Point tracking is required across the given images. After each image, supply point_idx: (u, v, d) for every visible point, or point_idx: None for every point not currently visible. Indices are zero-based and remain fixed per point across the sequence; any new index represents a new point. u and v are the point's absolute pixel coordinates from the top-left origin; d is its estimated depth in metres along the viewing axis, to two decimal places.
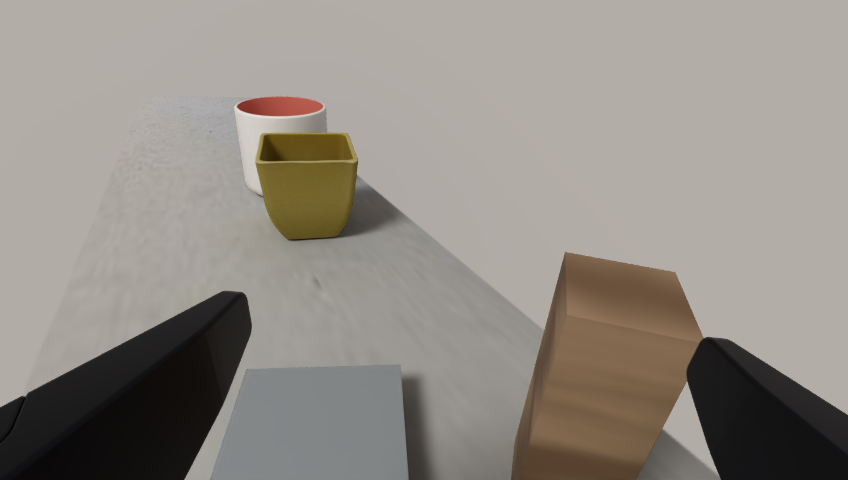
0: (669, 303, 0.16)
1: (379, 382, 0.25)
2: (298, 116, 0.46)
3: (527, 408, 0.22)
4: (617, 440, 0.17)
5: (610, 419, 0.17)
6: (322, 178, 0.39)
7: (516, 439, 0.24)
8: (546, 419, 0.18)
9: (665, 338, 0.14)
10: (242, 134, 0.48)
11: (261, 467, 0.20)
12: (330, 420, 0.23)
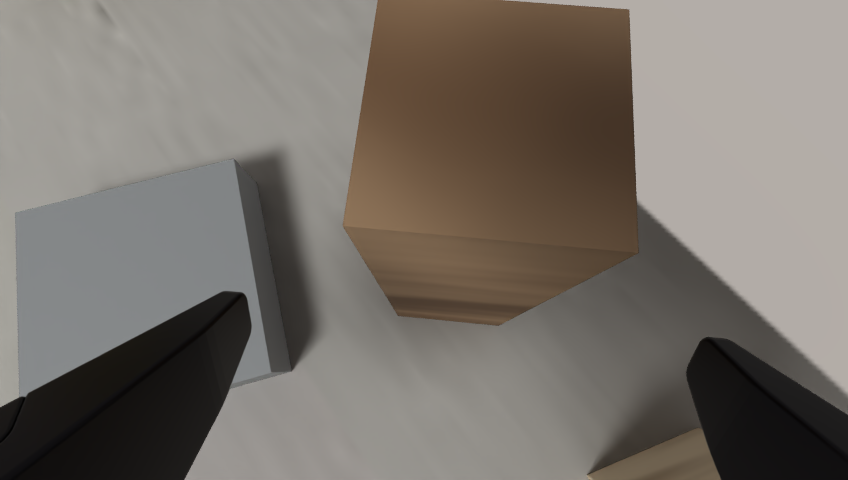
0: (589, 129, 0.07)
1: (207, 194, 0.18)
2: None
3: None
4: (495, 298, 0.12)
5: (481, 289, 0.11)
6: None
7: None
8: (393, 287, 0.12)
9: (555, 247, 0.07)
10: None
11: (78, 347, 0.16)
12: (150, 265, 0.17)
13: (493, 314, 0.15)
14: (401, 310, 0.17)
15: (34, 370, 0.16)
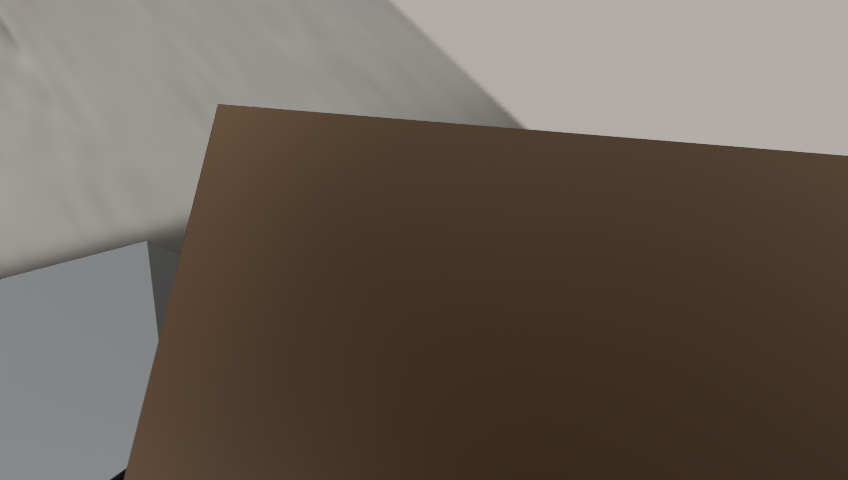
0: None
1: (108, 292, 0.13)
2: None
3: None
4: None
5: None
6: None
7: None
8: None
9: None
10: None
11: None
12: (22, 400, 0.12)
13: None
14: None
15: None
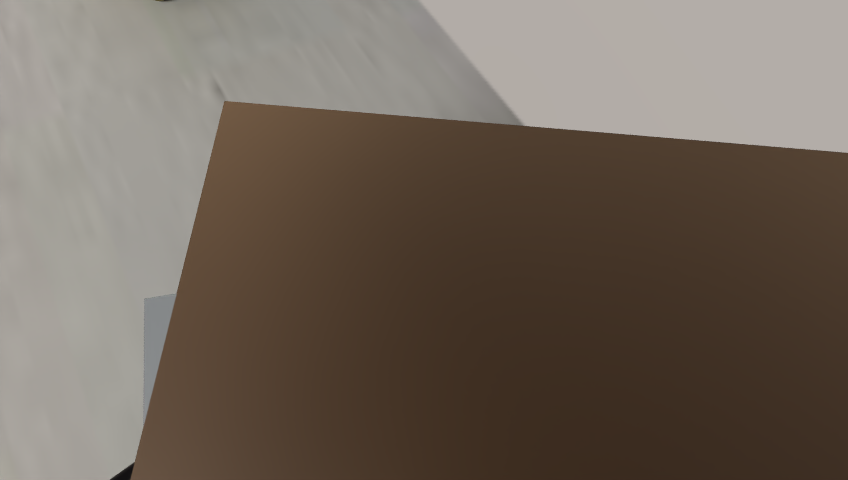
0: None
1: None
2: None
3: None
4: None
5: None
6: None
7: None
8: None
9: None
10: None
11: None
12: None
13: None
14: None
15: None
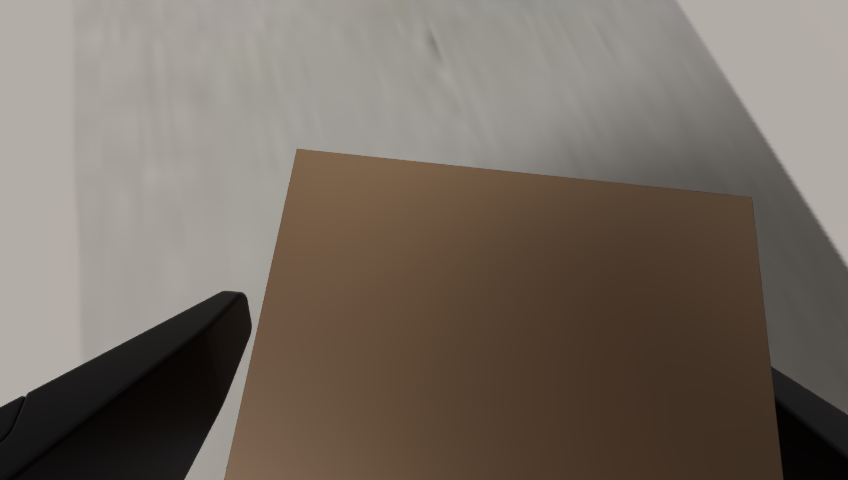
0: (693, 466, 0.03)
1: None
2: None
3: None
4: None
5: None
6: None
7: None
8: None
9: None
10: None
11: None
12: None
13: None
14: None
15: None
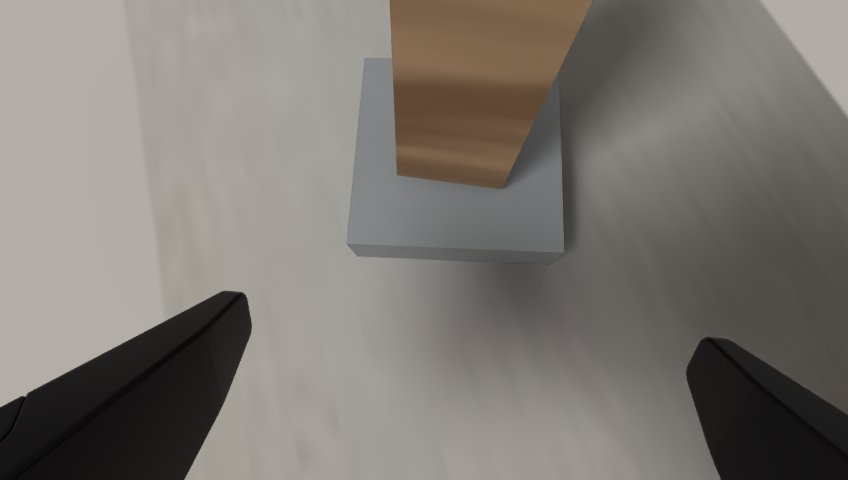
0: None
1: None
2: None
3: None
4: (513, 54, 0.11)
5: (502, 17, 0.10)
6: None
7: None
8: (405, 35, 0.11)
9: None
10: None
11: (402, 182, 0.19)
12: None
13: (502, 136, 0.14)
14: (403, 147, 0.16)
15: (364, 189, 0.19)
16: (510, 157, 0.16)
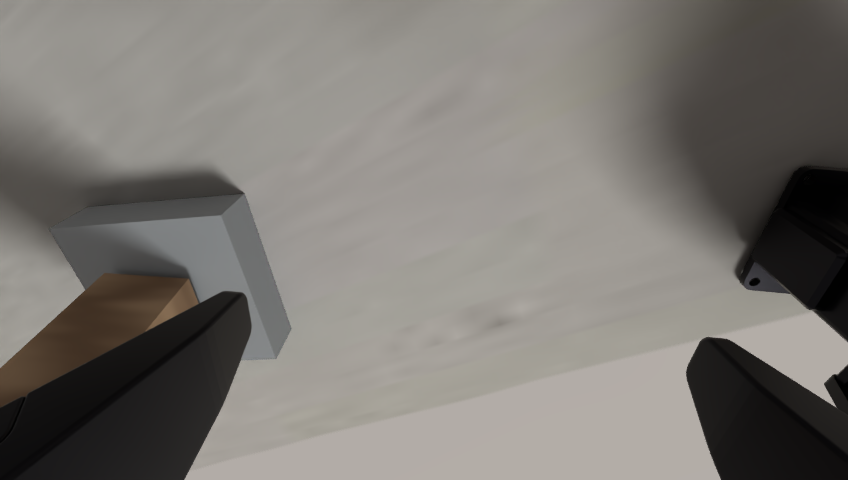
0: None
1: (85, 249, 0.21)
2: None
3: None
4: None
5: None
6: None
7: None
8: None
9: None
10: None
11: None
12: None
13: None
14: None
15: None
16: (159, 320, 0.19)
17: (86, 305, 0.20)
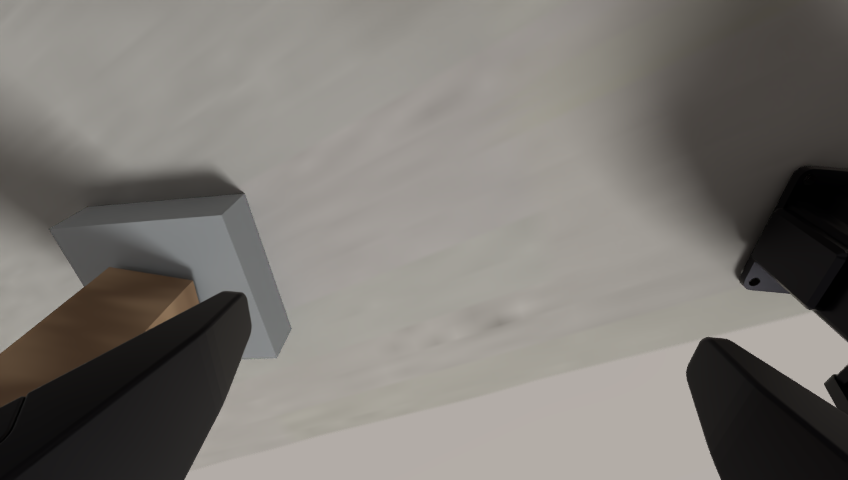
0: None
1: (86, 249, 0.22)
2: None
3: None
4: None
5: None
6: None
7: None
8: None
9: None
10: None
11: None
12: None
13: None
14: None
15: None
16: (159, 320, 0.19)
17: (88, 299, 0.20)
